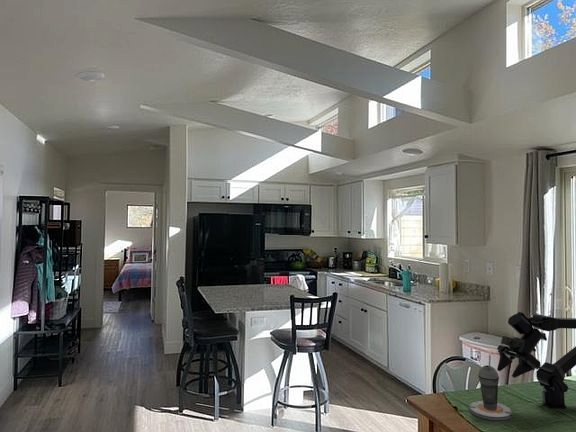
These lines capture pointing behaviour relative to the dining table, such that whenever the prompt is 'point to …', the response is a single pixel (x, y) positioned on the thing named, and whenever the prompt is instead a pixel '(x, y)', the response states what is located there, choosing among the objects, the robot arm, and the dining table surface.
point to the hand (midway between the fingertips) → (505, 373)
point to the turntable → (500, 412)
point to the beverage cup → (489, 386)
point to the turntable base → (491, 418)
